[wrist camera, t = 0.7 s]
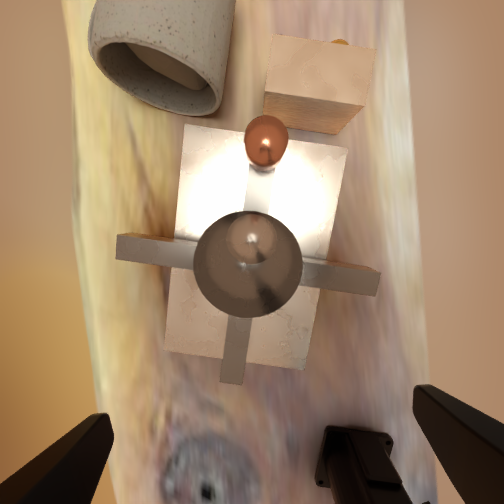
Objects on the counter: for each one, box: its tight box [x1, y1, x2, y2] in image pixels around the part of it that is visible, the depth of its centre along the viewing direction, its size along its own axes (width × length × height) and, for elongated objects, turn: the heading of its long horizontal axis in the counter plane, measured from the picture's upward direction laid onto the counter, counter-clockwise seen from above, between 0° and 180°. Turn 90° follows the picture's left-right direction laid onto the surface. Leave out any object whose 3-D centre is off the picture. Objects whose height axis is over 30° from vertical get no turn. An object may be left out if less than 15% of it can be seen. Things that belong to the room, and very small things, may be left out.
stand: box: [164, 34, 376, 370], centre depth 17 cm, size 24×12×5 cm, turn 172°
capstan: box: [116, 115, 381, 385], centre depth 15 cm, size 17×17×4 cm
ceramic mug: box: [88, 0, 236, 116], centre depth 14 cm, size 11×8×8 cm
